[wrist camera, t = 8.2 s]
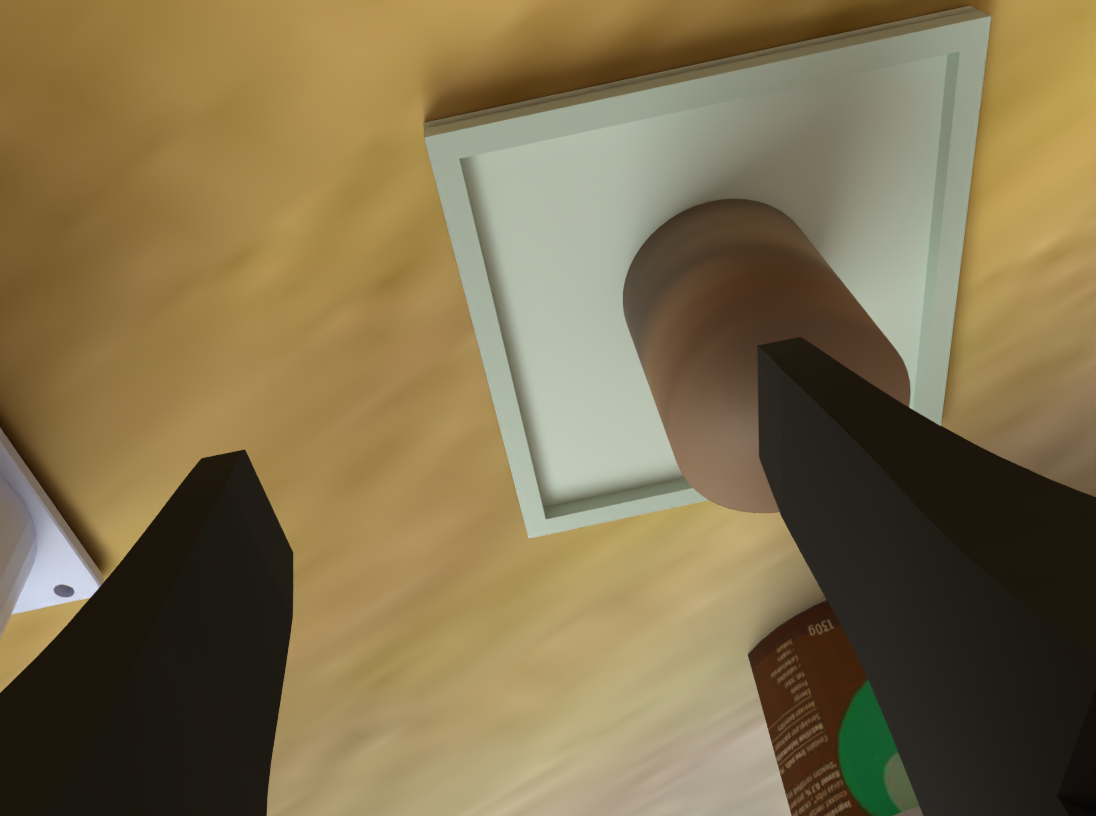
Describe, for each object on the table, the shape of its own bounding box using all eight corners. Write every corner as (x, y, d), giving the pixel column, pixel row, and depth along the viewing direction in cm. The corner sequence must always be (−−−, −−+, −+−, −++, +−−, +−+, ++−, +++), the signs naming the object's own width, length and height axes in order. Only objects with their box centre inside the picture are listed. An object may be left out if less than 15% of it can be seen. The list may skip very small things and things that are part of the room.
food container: (1084, 602, 33) (1303, 881, 25) (973, 704, 36) (1135, 981, 28) (812, 524, 29) (970, 830, 21) (712, 647, 32) (816, 954, 24)
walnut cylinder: (652, 395, 24) (705, 541, 20) (596, 243, 21) (644, 373, 17) (827, 332, 24) (921, 467, 19) (794, 167, 21) (895, 281, 16)
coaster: (525, 516, 27) (528, 538, 26) (423, 122, 19) (424, 137, 19) (923, 431, 27) (937, 451, 26) (969, 5, 19) (991, 16, 19)
